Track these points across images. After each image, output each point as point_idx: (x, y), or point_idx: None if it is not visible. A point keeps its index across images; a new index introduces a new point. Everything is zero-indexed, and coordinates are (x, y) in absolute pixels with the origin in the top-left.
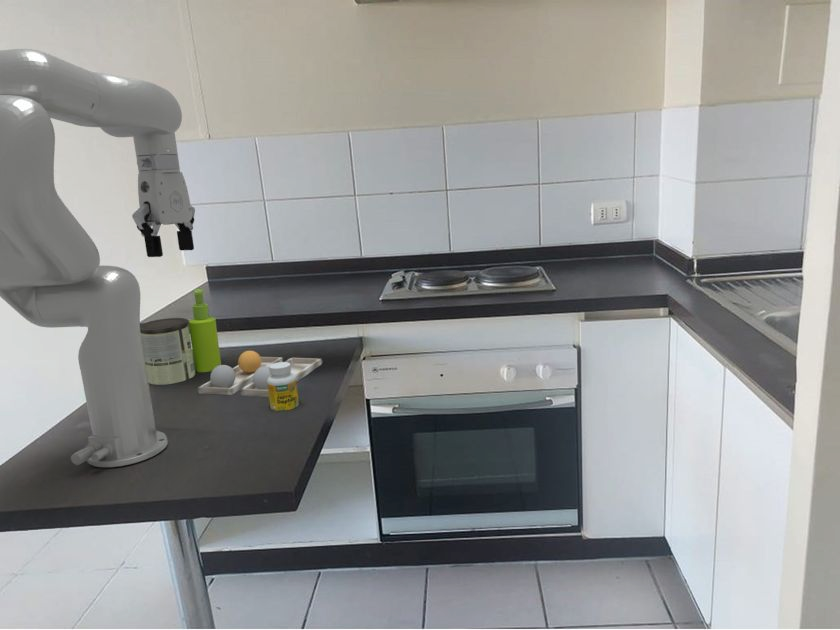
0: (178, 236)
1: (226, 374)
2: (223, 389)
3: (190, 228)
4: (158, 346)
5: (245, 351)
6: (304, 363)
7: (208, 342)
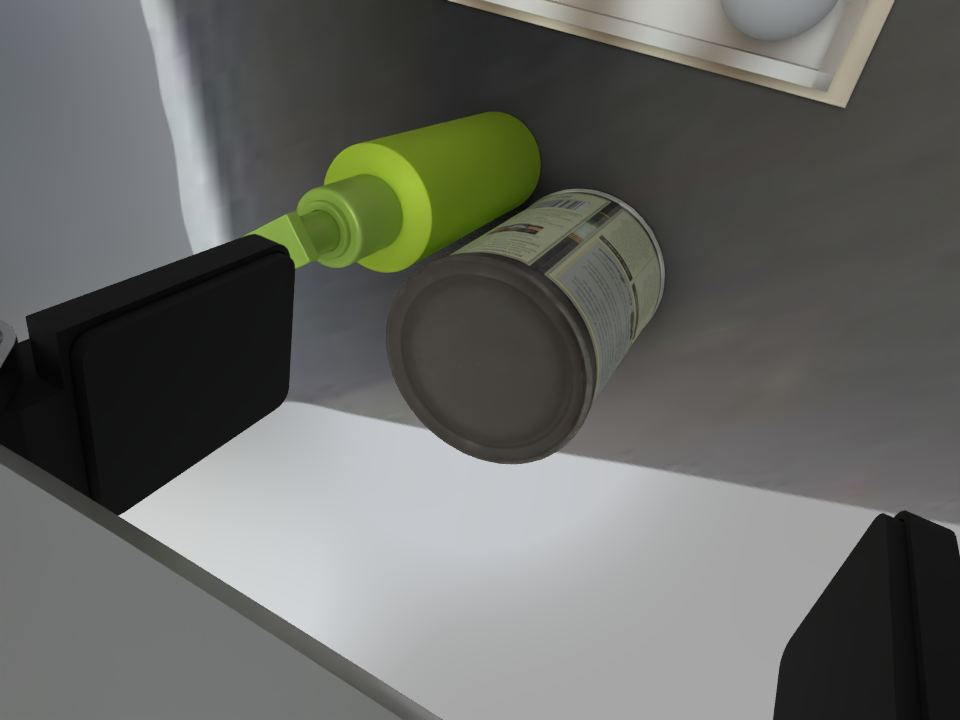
0: (160, 473)
1: None
2: None
3: None
4: (614, 340)
5: None
6: None
7: (467, 155)
